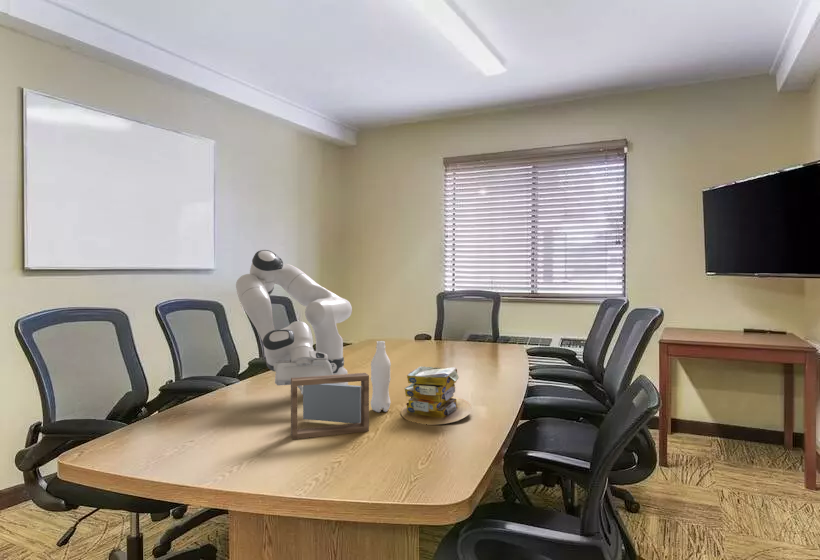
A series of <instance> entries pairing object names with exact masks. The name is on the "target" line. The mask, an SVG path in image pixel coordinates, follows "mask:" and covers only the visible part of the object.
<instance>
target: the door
mask: <svg viewBox="0 0 820 560" xmlns="http://www.w3.org/2000/svg"><path fill="white" fill-rule="evenodd" d="M302 386H303V394H302V419H303V420H308V421H309V420H311V421H321V422H331V423H333V422H334V423H344V424H353V423H361V385H353V384H352V385H351V384H348V385H339V384H316V385H302Z"/></svg>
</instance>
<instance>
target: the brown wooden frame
mask: <svg viewBox="0 0 820 560" xmlns="http://www.w3.org/2000/svg"><path fill="white" fill-rule="evenodd" d="M343 382H348V383H353V382H360V386H361V423H344V424H337V425H328V426H327V425H326V426H317V427H316V426H315V427H307V428H298V387H297V386H303V385H316V384H329V383H343ZM369 431H370V375H369V374H368V373H367V372H357V373H347V374H340V375H325V376H311V377H296V378H291V385H290V436H292V437H291V439H292V440H300V439H299V438H301V439H308V438H309V437H310V438H316V437H318V438H320V437H325V436H326V437H327V436H328V437H329V436H336V434H337V435H344V434H345V435H346V434H353V433H354V434H355V433H362V432H363V433H364V432H369Z"/></svg>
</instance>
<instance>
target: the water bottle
mask: <svg viewBox="0 0 820 560" xmlns="http://www.w3.org/2000/svg"><path fill="white" fill-rule="evenodd" d="M375 348H376V351H375V354H374V355H373V357H372V359H371V363H370V371H371V372H370V380H371V384H372V385H371V386H372V395H371V399H370V407H371V410H372V411H374V412H375V413H380V412H382V411H383V412H384V413H385V412H388V411H389V409H390V406H391V398H390V393H389V388H390V387H389V386H390V382H391V360H390V357H389V356H388V354H387V351H386V348H387V346H386V341H385V340H376V346H375Z"/></svg>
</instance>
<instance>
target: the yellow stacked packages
mask: <svg viewBox="0 0 820 560" xmlns="http://www.w3.org/2000/svg"><path fill="white" fill-rule="evenodd" d="M406 378H407V383H408V384H409V385H408V386H406V387H405V388H404V391H405V397H407V398H408V402H406V404H405V405H404V406H403V407H402V409H401V411H400V413H401V417H402V418H403V419H405V420H406V421H408V422H411V421H412V423H415V422H417V423H416V424H419V423H422V424H421V425H426V424H427V425H430V426H431V425H433V426H434V425H436V426H437V425H445V424H450V423H451V424H452V423H455V422H459V421H460V420H462V419H464V418H466V417H468V416H469V415H470V414H471V412H472V411H473V406H472V404H471V403H470V402H469V401H468V400H465V399H464V398H461V397H457V396H454V393H456V383H457V380H459V379H460V376H459V374H458V369H457V367H440V366H437V367H432V366H418V367H417V368H415V369H413V370H412V371H410V372H409V373H408V374H407V375H406ZM427 425H426V426H427Z"/></svg>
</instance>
